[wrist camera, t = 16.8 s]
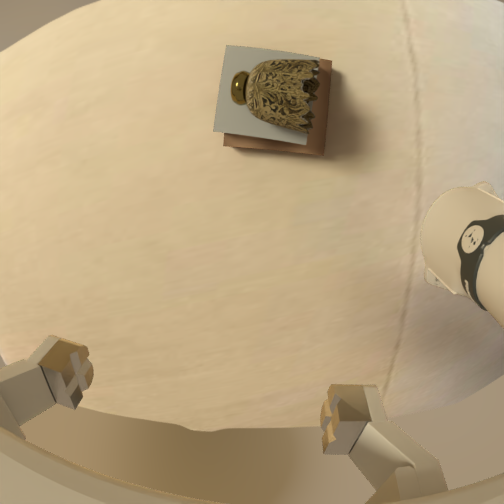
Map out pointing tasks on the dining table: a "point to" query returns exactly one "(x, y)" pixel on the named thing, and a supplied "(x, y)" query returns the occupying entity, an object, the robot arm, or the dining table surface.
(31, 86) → the dining table surface
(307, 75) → the cup
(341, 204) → the dining table surface
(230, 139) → the tower base
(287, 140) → the tower top
